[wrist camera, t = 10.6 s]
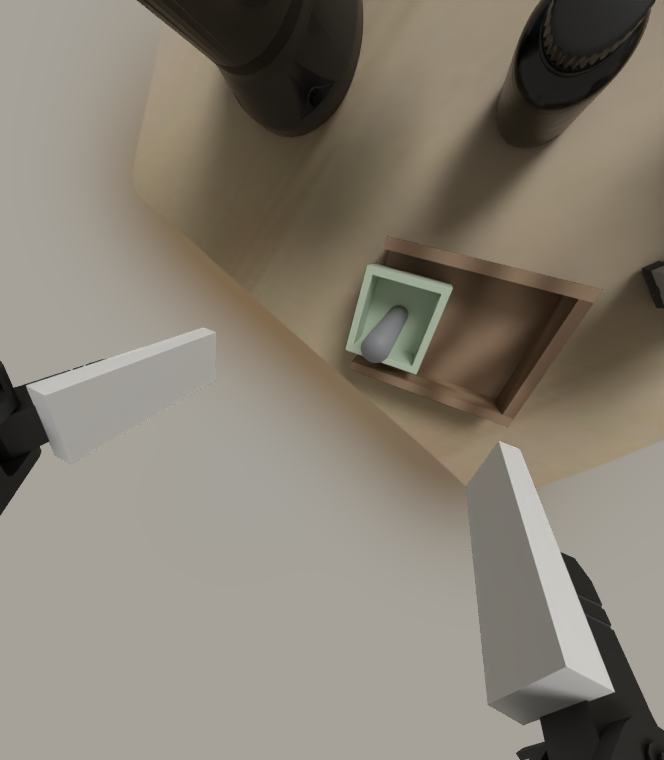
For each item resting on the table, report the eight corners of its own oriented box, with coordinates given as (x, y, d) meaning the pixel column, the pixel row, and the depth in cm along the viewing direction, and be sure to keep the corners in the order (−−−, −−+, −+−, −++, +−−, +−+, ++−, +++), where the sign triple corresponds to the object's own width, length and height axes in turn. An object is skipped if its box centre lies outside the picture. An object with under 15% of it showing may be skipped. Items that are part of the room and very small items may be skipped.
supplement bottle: (602, 36, 22) (746, -156, 11) (570, 145, 24) (662, 70, 14) (504, 56, 24) (551, -89, 14) (486, 154, 27) (513, 95, 16)
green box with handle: (356, 338, 38) (314, 381, 25) (376, 263, 33) (337, 270, 20) (419, 360, 36) (407, 417, 23) (451, 283, 31) (458, 304, 19)
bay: (359, 357, 40) (349, 369, 36) (394, 238, 32) (387, 236, 28) (499, 406, 36) (507, 427, 32) (578, 283, 28) (603, 289, 24)
